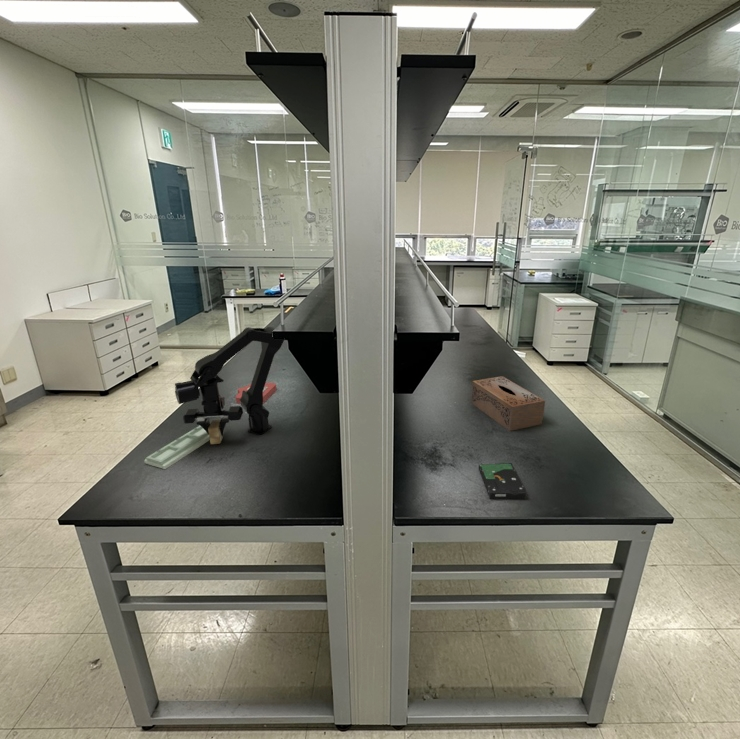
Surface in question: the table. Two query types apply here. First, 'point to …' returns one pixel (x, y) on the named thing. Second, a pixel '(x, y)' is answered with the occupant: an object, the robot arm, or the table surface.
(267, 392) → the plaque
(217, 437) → the tan rectangular box
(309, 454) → the table surface
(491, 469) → the disk drive
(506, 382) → the tissue box cover
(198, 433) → the rail board
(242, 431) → the table surface
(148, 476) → the table surface
